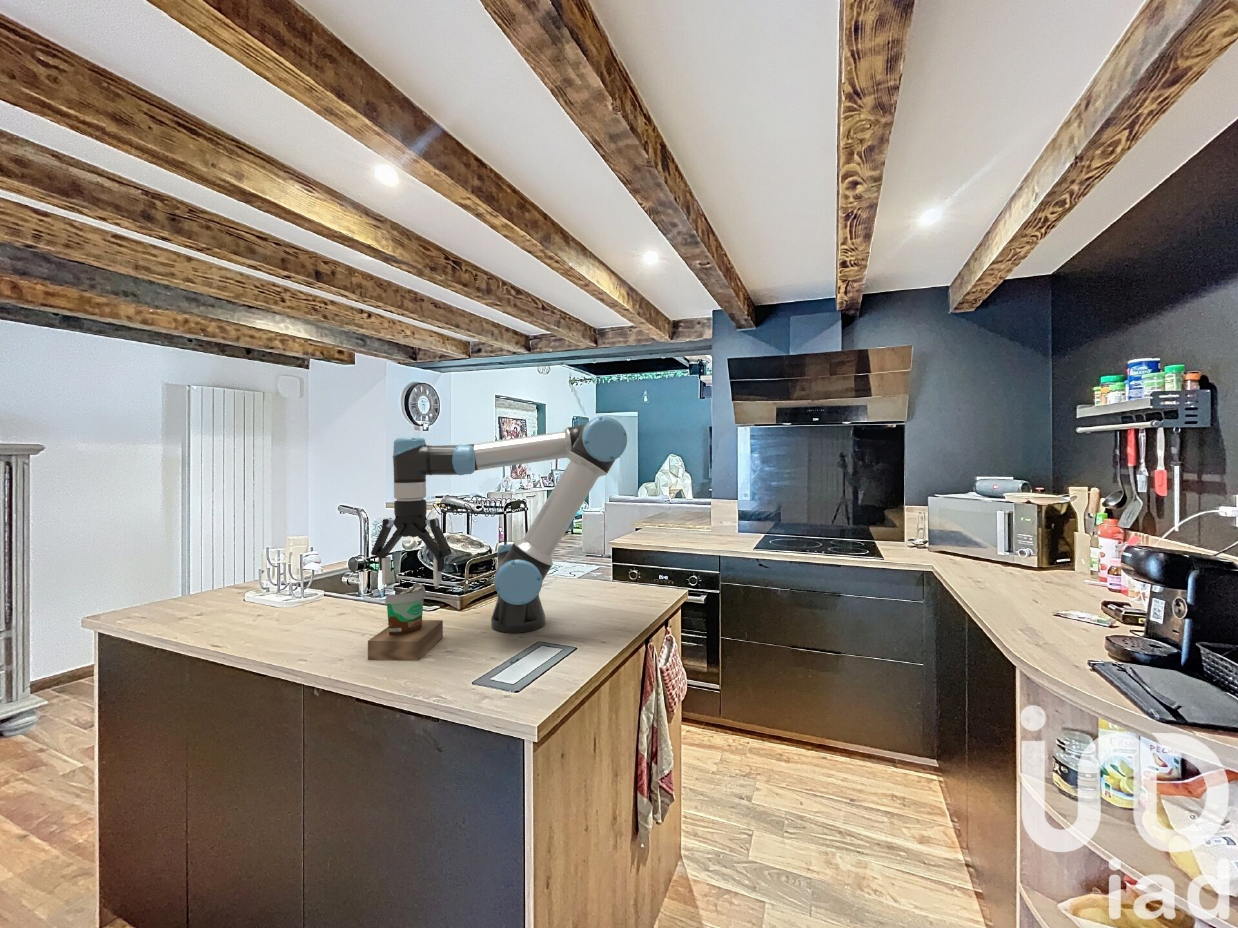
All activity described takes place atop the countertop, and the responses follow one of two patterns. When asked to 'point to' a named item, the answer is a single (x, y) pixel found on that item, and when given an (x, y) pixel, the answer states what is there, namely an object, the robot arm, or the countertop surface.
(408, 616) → the food container
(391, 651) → the walnut box
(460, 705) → the countertop surface
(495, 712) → the countertop surface
